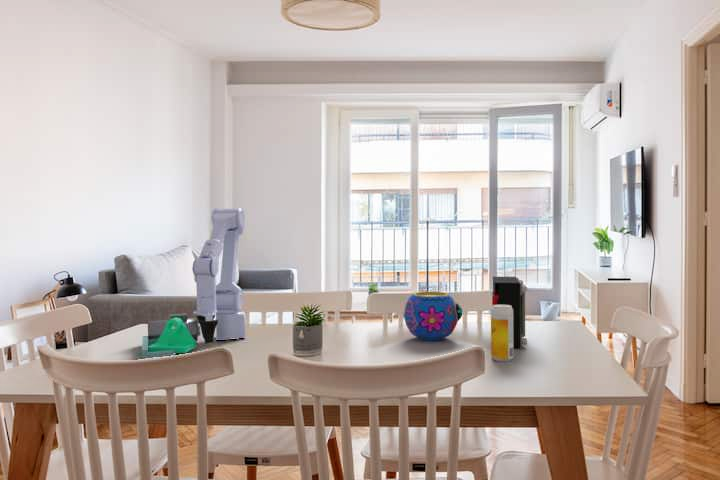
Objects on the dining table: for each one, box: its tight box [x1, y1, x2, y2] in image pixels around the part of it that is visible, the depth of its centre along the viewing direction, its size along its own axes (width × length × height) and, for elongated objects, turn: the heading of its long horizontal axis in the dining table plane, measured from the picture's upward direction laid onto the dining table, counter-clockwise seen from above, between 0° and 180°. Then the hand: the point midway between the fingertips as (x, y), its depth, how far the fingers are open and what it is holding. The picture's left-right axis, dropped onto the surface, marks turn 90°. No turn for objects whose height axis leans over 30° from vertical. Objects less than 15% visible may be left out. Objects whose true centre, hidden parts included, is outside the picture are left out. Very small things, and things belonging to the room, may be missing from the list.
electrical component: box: [491, 276, 528, 350], centre depth 178 cm, size 18×10×20 cm, turn 168°
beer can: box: [490, 304, 514, 362], centre depth 157 cm, size 6×6×15 cm
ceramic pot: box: [403, 291, 463, 342], centre depth 184 cm, size 18×18×15 cm
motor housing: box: [147, 312, 201, 343], centre depth 182 cm, size 16×8×10 cm, turn 110°
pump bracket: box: [141, 335, 175, 360], centre depth 168 cm, size 8×21×4 cm, turn 20°
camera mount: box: [148, 317, 197, 354], centre depth 171 cm, size 12×8×10 cm, turn 84°
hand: (207, 340), depth 173 cm, fingers open, 7 cm apart
